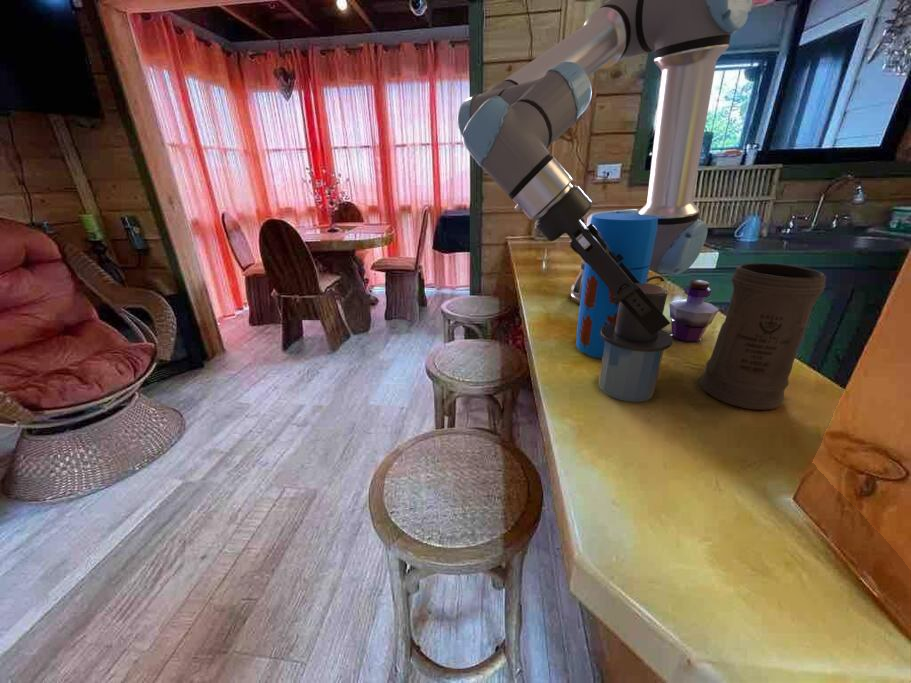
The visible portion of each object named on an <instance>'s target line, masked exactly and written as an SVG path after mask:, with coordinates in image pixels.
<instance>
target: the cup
mask: <svg viewBox="0 0 911 683" xmlns="http://www.w3.org/2000/svg"><path fill="white" fill-rule="evenodd" d="M664 351H665V350H662V351H656V352H641V351H633V350H628V349H623V348H620V347H617V346H614V345H612V344H610V343H608V342H606V341H605V343H604V349H603V356H602V359H601V362H600V367H599V368H600V369H599V374H598V387H599V389H600V390H601V391H602V392H603V393H604V394H605V395H607V396H609V397H610V398H613V399H616V400H620V401H623V402H629V403H642V402H645V401H648V400H650V399H651V398H652V397H653V396H654V393H655V389H656V386H657V381H658V377H659V372H660V368H661V364H662V359H663V355H664V353H665V352H664Z"/></svg>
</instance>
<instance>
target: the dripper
mask: <svg viewBox="0 0 911 683" xmlns="http://www.w3.org/2000/svg"><path fill="white" fill-rule="evenodd" d="M635 284H636V285H638V287H639V288H640V289H641V290H642V291H643V292H644V293H645V294H646V296H647V297H648V298H649V299H650V300H651V301H652V302H653V304H654V305H655V306H656V307H657V308H658V309H659V310H660V311H661V313H662V314H663V315H664V310H665V306H666V302H667V296H668V290H666V289H665V288H664V287H662V286H660V285H656V284H651V283H647V284H644V283H635ZM623 287H624V286H623ZM623 287H622V288H623ZM600 335H601V337H602V338H603V339H604V340H605V341H606V342H608V343H610V344H612V345H614V346H617V347H620V348H623V349H628V350H633V351H641V352H656V351H662V350H664V351H666V350H667V349H669V348H671V346H672V345H673V341H674V340H673V339H674V338H673V337H672V336H671V334H670V333H669V332H667V331H666V330H664V329H661V330H660V331H658V332H657V333H655V334H654V335H652V336H651V335H650V333H649V332H648V331H647V330H646V329H645V328H644V327H643V326H642V325H641V323H640V322H639V321H638V320H637V319H636V318H635V317H634V316H633V315H632V313H631V312H630V311H629V310H628V309H627V308H626V307H625V306H624V304H623V303H622V302H619V307H618V313H617V319H616V323H610V324H607V325H605V326H603V327H602V328H601V332H600Z"/></svg>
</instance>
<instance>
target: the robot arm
mask: <svg viewBox="0 0 911 683" xmlns="http://www.w3.org/2000/svg"><path fill="white" fill-rule="evenodd" d="M753 2H754V1H753V0H608V1H607V2H605V3H604V4H602V5H601V6H600V7H598V8H597V9H595V10H594V11H593V12H592V13H590V15H589V16H588V17H587V18H586V20H585V22H584V23H583V25H582V27H580V28H578V29H577V30H575V31H574V32H573V33H571V34H569V35H568V36H567V37H565V38H564V39H562V40H561V41H558V43H556V44H554V45H553V46H552V47H550V48H549V49H546V51H545V52H543V53H541V54H540V55H538V56H537V57H536V58H534V59H533V60H531V61H530V62H528V63H527V64H525V65H524V66H522V67H521V68H519V69H518V70H516V71H515V72H513V73H512V74H511V75H509V76H508V77H506V78H504V79H503V80H502V81H501V82H499V83H497V84H496V85H494V86H492V87H491V88H490V89H488V90H486V91H485V92H483V93H475V94H474V95H472V96H470V97H468V98H466V99H465V100H463V102H462V103H461V105H460V106H459V109H458V111H457V127H458V130H459V134H460V136H461V141H462V145H463V147H465V149H466V150H467V151H468V154H470V156H471V157H472V158H473V159H474V161H475V162H476V163H477V165H478V167H481V168H482V170H484V172H485V173H486V174H487V175H488V176H489V177H490V178H491V179H492V180H493V181H494V182H495V183H496V184H497V185H498V187H500V189H501V190H502V191H503V192H504V193H505V194H506V195H507V196H508V197H509V198H510V200H512V202H514V204H516V205H515V207H514V210H515V212H516V213H520V212H521V211H522V213H523V214H524V215H526V217H527V218H528V219H529V220H534V219H535V220H536V221H535V223H534V224H535V228H536V229H537V230H538V231H539V232H540V233H541V234H542V235H543V236H544V237H545V239H547V241H549V242H554V241H556V240H558V239H559V238H560V237H562V236H563V235H564V234H567V236H568V237H569V239H570V240H569V241H568V243H569V247H570V248H571V249H572V250H573V251H574V252H575V253H576V254H577V255H579V257H580V259H581V264H580V270H579V273H578V275H577V277H576V280H575V282H574V283H573V284H572V285H571V287H570V289H571V290H570V297H569V298H570V300H571V301H572V302H573V303H575V304H577V305H580V300H581V292H582V284H583V276H584V268H585V262H586V263H587V264H588V265H590V266H591V268H592V269H593V270H594V271H595V272H596V274H597V275H598V276H599V277H600V278H601V280H602V281H603V282H604V283H605V285H606V286H607V287H608V288H609V289H610V291H611V292H612V293H613V294H614V296H615V298H614V299H612V301H613V302H614V303H615V304H616V305H617V304H618V303H619V302H622V303H623V304H624V306H625V307H626V308H627V309H628V310H629V311H630V312H631V313H632V315H633V316H634V317H635V318H636V319H637V320H638V321H639V322H640V323H641V325H642V326H643V327H644V328H645V329H646V330H647V331H648V332H649V333H650V335H651V336H652V335H654V334H655V333H657V332H658V331H660V330H664V329H665V328H666V327H668V326H669V325H671V321H670V320H669V319H668V318H667V317H666V316H665V315H664V313H663V314H662V313H661V311H660V310H659V309H658V308H657V307H656V306H655V305H654V304H653V302H652V301H651V300H650V299H649V298H648V297H647V296H646V294H645V293H644V292H643V291H642V290H641V289H640V288H639V287H638V285H636V284H635V283H640V282H639V281H638V280H637V279H636V278H635V277H634V276H633V275H632V273H631V272H630V271H629V270H628V269H627V268H626V267H625V265H624V264H623V263H622V262H621V263H620V264H618V263H619V262H620V261H621V260H623V259H624V258H623V257H622V256H621V254H620V253H619V254H618V255H617V256H615V254H614V252H611V250H610V248H609V247H608V245H607V244H606V243H605V240H604V239H603V238H602V237H601V234H600V233H599V231H598V230H597V229H596V227H595V226H594V225H593V224H592V223H591V219H592V216H593V215H598V214H614V213H623V214H644V215H652V216H656V217H658V225H657V232H656V237H655V242H654V247H653V252H652V258H651V263H650V268H649V271H652V272H656V273H658V274H669V275H670V274H671V275H679V274H682V273H685V272H686V271H687V270H689V268H691V267H692V266H693V265H694V263H695V262H696V260H697V259H698V257H699V256H700V254H701V253H702V250H703V248H704V246H705V243H706V240H707V237H708V230H709V229H708V224H707V223H706V222H705V221H703V219H702V220H701V219H699V214H700V208H699V207H698V206H697V205H696V204H695V203H694V202H693V200H694V194H695V189H696V184H697V176H698V171H699V165H700V159H701V153H702V148H703V141H704V136H705V135H704V134H705V130H706V124H707V118H708V112H709V107H710V100H711V95H712V88H713V83H714V76H715V72H716V66H717V65H716V64H717V61H718V59H719V58H721V56H722V55H723V54H724V53H725V52H726V51H727V50H728V49H729V47H730V42H731V36H732V34H735V33H737V32H738V31H739V30H741V29H742V28H743V27H744V26H745V24H746V23H747V21H748V18H749V14H751V9H752V5H753ZM651 53H654V55H653V56H654V58H653V63H654V64H655V65H656V66H657V67H658V69H659V70H660V71H661V75H660V84H659V91H658V92H659V93H658V99H657V101H658V102H657V110H656V119H655V127H654V137H653V145H652V152H651V153H652V154H651V161H650V172H649V180H648V187H647V197H646V203H645V205H644V206H642V207H641V208H640V209H637V208H630V209H628V208H627V209H617V210H607V211H606V210H605V211H599V212H598V211H597V212H592V213H591V214H589V215H588V217H587V218H586V222H585V219H584V218H583V217H584V216H585V215H586V214H587V213H588V212H589V211H590V210H591V208H592V206H593V202H592V199H590V198H589V196H588V195H587V194H586V192H584V190H582V188H581V187H580V186H579V185H576V184H574V185H572V184H571V183H573V178H572V176H571V175H570V174H569V173H568V172H567V170H565V167H564V166H562V165H561V163H560V162H559V161H558V160H557V158H556V157H554V156H553V155H552V154H551V152H550V151H549V150H548V148H549V147H550V146H551V145H552V144H553V143H554V142H555V141H557V139H559V138H560V137H561V136H562V135H563V134H564V133H565V132H567V130H568V129H569V128H571V127H572V126H573V125H575V124H576V123H577V121H578V120H579V118H580V117H581V116H582V115H583V113H584V112H586V110H587V109H588V107H589V105H590V103H591V100H592V93H593V92H592V84H591V80H590V76H591V75H593V73H595V72H597V70H605V69H608V68H610V67H612V66H614V65H615V64H616V63H618V62H620V61H622V60H626V59H629V58H633V57H636V56H641V55H646V54H651ZM655 279H658V280H660V281H661V282H662V281H663V282H664V281H665V279H664V277H662V276H661V275H653V276H649V277H648V278H647V283H646V284H648V282H650V281H652V280H655ZM623 286H624V287H623ZM622 287H623V288H622ZM619 288H620V290H619V291H618V289H619Z"/></svg>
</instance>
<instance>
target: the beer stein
mask: <svg viewBox="0 0 911 683" xmlns="http://www.w3.org/2000/svg"><path fill="white" fill-rule="evenodd" d="M826 280H827V275H826V273H825V272H821V271H819V270H816V269H812V268H809V267H803V266H797V265H789V264H781V263H768V262H767V263H765V262H762V263H761V262H755V263H753V262H752V263H743V264H740V265H738V266H736V269H735V271H734V273H733V274H732V277H731V283H732V286H733V290H732V292H731V296H730V300H729V304H728V307H727V311H726V316H725V319H724V321H723V323H722V324H721V326H720V330H719V332H718V335H717V338H716V342H715V344H714V347H713V350H712V352H711V355H710V357H709V359H708V360H707V361H706V363H705V369H704V371H703V372H702V375H701V376H700V378H699V385H700V387H701V388H702V389H703V390H704V392H705V393H707V395H710V396H711V397H713V398H715V399H717V400H718V401H720V402H723V403H726V404H728V405H731V406H733V407H734V406H735V407H739V408H741V409H749V410H757V411H759V410H760V411H761V410H762V411H764V410H765V411H767V410H775V409H777V408H779V407H781V406H782V404H783V402H784V397H785V396H784V395H785V390H786V388H788V386H789V384H790V382H789V378H790V377H789V376H790V374H791V372H792V369H793V365H794V361H795V359H796V356H797V353H798V350H799V348H800V345H801V343H802V340H803V338H804V334H805V331H806V329H807V326H808V322H809V319H810V316H811V313H812V310H813V308H814V306H815V304H816V302H817V301H818V299H819V298H820V296H821V294H823V292H824V291H825V289H826Z"/></svg>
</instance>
